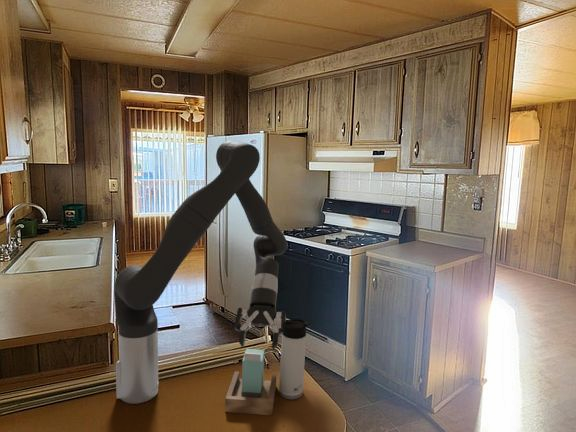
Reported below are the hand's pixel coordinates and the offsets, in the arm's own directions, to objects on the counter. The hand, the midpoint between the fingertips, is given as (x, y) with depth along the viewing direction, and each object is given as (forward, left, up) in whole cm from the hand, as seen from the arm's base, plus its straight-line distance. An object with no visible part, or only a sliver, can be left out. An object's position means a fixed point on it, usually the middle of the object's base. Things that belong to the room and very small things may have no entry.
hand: (257, 347), depth 108 cm
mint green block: (0, -7, -9) cm, 11 cm away
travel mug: (+10, -4, -11) cm, 15 cm away
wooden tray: (0, -7, -10) cm, 12 cm away
